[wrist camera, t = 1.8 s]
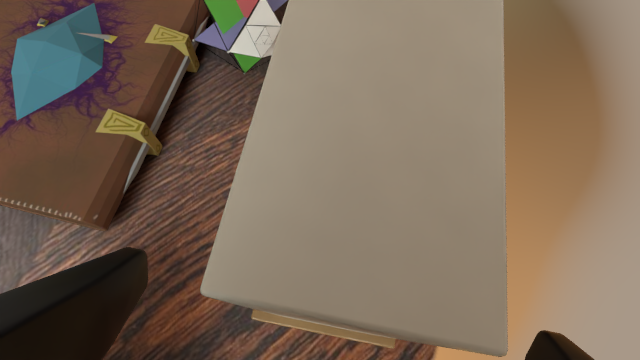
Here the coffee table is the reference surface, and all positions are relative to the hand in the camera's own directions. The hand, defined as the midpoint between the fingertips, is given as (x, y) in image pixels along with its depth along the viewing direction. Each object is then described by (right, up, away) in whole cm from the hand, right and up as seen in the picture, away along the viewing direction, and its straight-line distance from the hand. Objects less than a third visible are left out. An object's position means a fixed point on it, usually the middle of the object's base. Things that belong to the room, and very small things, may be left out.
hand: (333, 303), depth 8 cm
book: (-18, +12, +19) cm, 29 cm away
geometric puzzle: (-6, +13, +20) cm, 24 cm away
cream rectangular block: (0, +1, +6) cm, 6 cm away
